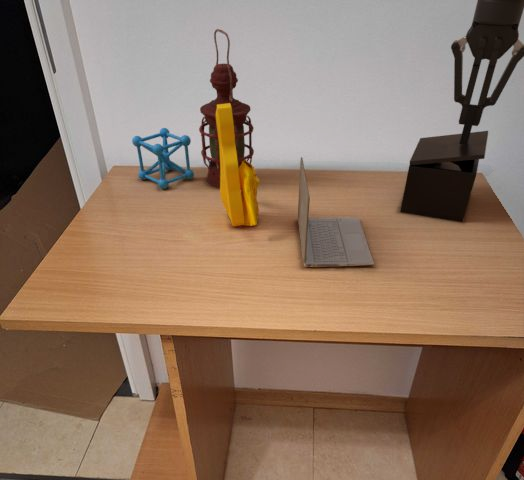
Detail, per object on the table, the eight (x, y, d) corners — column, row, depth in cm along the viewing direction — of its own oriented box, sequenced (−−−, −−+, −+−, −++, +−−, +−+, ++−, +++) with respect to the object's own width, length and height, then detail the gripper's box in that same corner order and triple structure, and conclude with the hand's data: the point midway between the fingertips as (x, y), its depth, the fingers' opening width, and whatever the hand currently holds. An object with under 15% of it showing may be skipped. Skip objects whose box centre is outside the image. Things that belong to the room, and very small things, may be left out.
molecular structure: (163, 191, 110) (156, 146, 103) (137, 179, 115) (129, 136, 108) (196, 179, 115) (192, 135, 108) (170, 168, 120) (164, 125, 114)
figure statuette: (266, 240, 93) (266, 118, 78) (225, 243, 92) (217, 120, 77) (254, 200, 106) (252, 90, 91) (218, 203, 105) (211, 91, 91)
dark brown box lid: (488, 134, 99) (488, 130, 99) (484, 158, 89) (484, 154, 89) (420, 141, 105) (420, 138, 105) (409, 165, 95) (409, 161, 95)
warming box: (467, 194, 108) (480, 149, 102) (462, 222, 98) (476, 174, 92) (410, 185, 112) (419, 142, 105) (399, 212, 102) (409, 165, 95)
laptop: (373, 267, 85) (386, 196, 77) (302, 268, 85) (307, 197, 77) (358, 220, 99) (367, 156, 90) (297, 221, 99) (300, 156, 90)
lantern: (263, 184, 112) (262, 32, 92) (214, 194, 108) (202, 37, 89) (242, 167, 121) (237, 23, 101) (196, 175, 117) (181, 27, 97)
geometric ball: (440, 214, 105) (446, 195, 97) (414, 191, 107) (418, 170, 100) (467, 191, 105) (475, 170, 97) (441, 168, 107) (447, 146, 99)
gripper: (545, -7, 81) (499, 140, 96) (463, -10, 84) (432, 132, 100) (546, -2, 75) (498, 152, 91) (460, -5, 79) (427, 144, 95)
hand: (463, 141), depth 95 cm, fingers closed
